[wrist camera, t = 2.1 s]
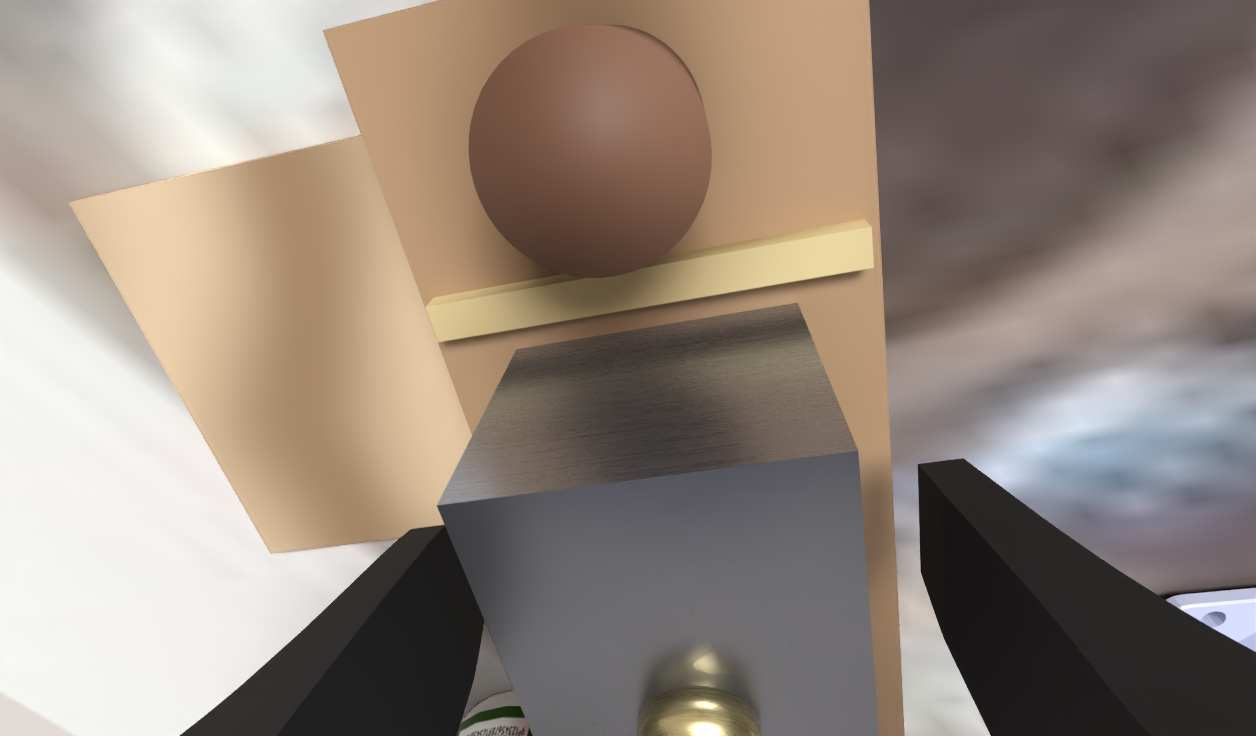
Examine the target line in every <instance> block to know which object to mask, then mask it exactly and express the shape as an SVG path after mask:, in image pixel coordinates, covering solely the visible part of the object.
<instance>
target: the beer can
mask: <svg viewBox="0 0 1256 736" xmlns="http://www.w3.org/2000/svg"><path fill="white" fill-rule="evenodd" d="M457 736H533V735H532V733H531V730H530V728H529V726H528V723H527V721H526V718H525V716H524V714H523V711H522V709H521V706H520V704H519V702H518V699H517V697H516V694H515V692H514V690H512V691H508V692H504V693H500V694H495V695H492V696H491V697H489V698H487V699H485V700H484V701H482V702H480V703H479V704H477V705H475V707H474V708H473V709H472V710H471V711H470V712H469V713H468V714H467V716H466V717H465V718H464V719H463V720H462V721H461V723H460V726H459V729H458V733H457Z"/></svg>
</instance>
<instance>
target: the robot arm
mask: <svg viewBox="0 0 1256 736" xmlns="http://www.w3.org/2000/svg"><path fill="white" fill-rule="evenodd" d="M918 485H919V523H920V561H921V574H922V577H923V580H924V583H925V586H926V589H927V592H928V595H929V597H930V600H931V603H932V606H933V609H934V612H935V615H936V618H937V620H938V623H939V626H940V629H941V632H942V634H943V637H944V639H945V642H946V644H947V646H948V648H949V650H950V652H951V654H952V656H953V658H954V661H955V663H956V665H957V667H958V669H959V671H960V673H961V675H962V677H963V679H964V681H965V683H966V685H967V688H968V690H969V692H970V694H971V696H972V698H973V700H974V702H975V704H976V706H977V708H978V710H979V712H980V714H981V716H982V718H983V720H984V722H985V724H986V727H987V729H988V731H989V733H990V735H991V736H1256V588H1247V589H1236V590H1225V591H1214V592H1203V593H1192V594H1181V595H1176V596H1172V597H1170V598H1168V599H1166V600H1165V599H1163V598H1161V597H1160V596H1158V595H1157V594H1155V593H1154V592H1152V591H1150V590H1149V589H1147V588H1146V587H1144V586H1142V585H1141V584H1139V583H1138V582H1136V581H1134V580H1133V579H1131V578H1130V577H1128V576H1126V575H1125V574H1123V573H1122V572H1120V571H1119V570H1117V569H1116V568H1114V567H1113V566H1111V565H1110V564H1108V563H1107V562H1105V561H1104V560H1102V559H1101V558H1099V557H1098V556H1096V555H1095V554H1093V553H1092V552H1091V551H1089V550H1088V549H1086V548H1085V547H1083V546H1082V545H1080V544H1079V543H1078V542H1076V541H1075V540H1073V539H1072V538H1070V537H1069V536H1068V535H1066V534H1065V533H1063V532H1062V531H1060V530H1059V529H1058V528H1056V527H1055V526H1053V525H1052V524H1051V523H1049V522H1048V521H1046V520H1045V519H1044V518H1042V517H1041V516H1040V515H1038V514H1037V513H1036V512H1034V511H1033V510H1032V509H1030V508H1029V507H1027V506H1026V505H1025V504H1023V503H1022V502H1021V501H1019V500H1018V499H1017V498H1015V497H1014V496H1013V495H1011V494H1010V493H1009V492H1007V491H1006V490H1005V489H1003V488H1002V487H1001V486H999V485H998V484H997V483H995V482H994V481H993V480H991V479H990V478H989V477H987V476H986V475H985V474H983V473H982V472H981V471H979V470H978V469H977V468H975V467H974V466H973V465H971V464H970V463H969V462H967V461H966V460H965V459H963V458H962V459H955V460H947V461H939V462H931V463H923V464H918ZM483 625H484V618H483V615H482V613H481V611H480V608H479V606H478V603H477V601H476V599H475V596H474V594H473V591H472V589H471V587H470V584H469V582H468V580H467V577H466V575H465V572H464V570H463V568H462V565H461V563H460V560H459V558H458V556H457V553H456V551H455V548H454V546H453V544H452V541H451V539H450V536H449V534H448V532H447V529H446V527H445V525H438V526H430V527H422V528H415V529H410V530H409V531H408V532H407V533H405V534H404V535H403V536H402V537H401V538H399V539H398V540H397V541H396V542H395V543H394V544H393V545H392V546H391V547H390V548H388V549H387V550H386V551H385V552H384V553H383V554H382V555H381V556H380V557H379V558H378V559H377V560H376V561H375V562H374V563H373V564H372V565H371V566H370V567H368V568H367V569H366V570H365V571H364V572H363V573H362V574H361V575H360V576H359V577H358V578H357V579H356V580H355V581H354V582H353V583H352V584H351V585H350V586H349V587H348V588H347V589H346V590H345V591H344V592H343V593H342V594H340V595H339V596H338V597H337V598H336V599H335V600H334V601H333V602H332V603H331V604H330V605H329V606H328V607H327V608H326V609H325V610H324V611H323V612H322V613H321V614H320V615H319V616H317V617H316V618H315V619H314V620H313V621H312V622H311V623H310V624H309V625H308V626H307V627H306V628H305V629H304V630H303V631H302V632H301V633H299V634H298V635H297V636H296V637H295V638H294V639H293V640H292V641H291V642H289V643H288V644H287V645H286V646H285V647H284V648H283V649H282V650H280V651H279V652H278V653H277V654H276V655H275V656H274V657H273V658H272V659H270V660H269V661H268V662H267V663H266V664H265V665H264V666H263V667H262V668H260V669H259V670H258V671H257V672H256V673H255V674H254V675H253V676H251V677H250V678H249V679H248V680H247V681H246V682H245V683H244V684H243V685H241V686H240V687H239V688H238V689H237V690H235V691H234V692H233V693H232V694H231V695H230V696H228V697H227V698H226V699H225V700H224V701H222V702H221V703H220V704H219V705H218V706H216V707H215V708H214V709H213V710H211V711H210V712H209V713H208V714H207V715H205V716H204V717H203V718H202V719H200V720H199V721H198V722H196V723H195V724H194V725H193V726H191V727H190V728H189V729H188V730H186V731H185V732H184V733H182V734H181V735H180V736H457V733H458V729H459V726H460V723H461V720H462V717H463V713H464V710H465V707H466V704H467V700H468V697H469V694H470V690H471V687H472V684H473V680H474V675H475V670H476V665H477V660H478V655H479V650H480V644H481V637H482V631H483Z"/></svg>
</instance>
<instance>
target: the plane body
mask: <svg viewBox="0 0 1256 736" xmlns="http://www.w3.org/2000/svg"><path fill="white" fill-rule="evenodd" d="M323 32H324V35H325V38H326V40H327V43H328V46H329V49H330V51H331V54H332V57H333V59H334V62H335V65H336V68H337V70H338V73H339V76H340V78H341V81H342V84H343V87H344V89H345V92H346V95H347V97H348V100H349V103H350V106H351V108H352V111H353V114H354V116H355V119H356V122H357V125H358V127H359V130H360V133H361V135H362V138H363V141H364V144H365V146H366V149H367V152H368V154H369V157H370V160H371V163H372V165H373V168H374V171H375V173H376V176H377V179H378V182H379V184H380V187H381V190H382V192H383V195H384V198H385V201H386V203H387V206H388V209H389V211H390V214H391V217H392V220H393V222H394V225H395V228H396V231H397V233H398V236H399V239H400V241H401V244H402V247H403V250H404V252H405V255H406V258H407V260H408V263H409V266H410V269H411V271H412V274H413V277H414V279H415V282H416V285H417V288H418V290H419V293H420V296H421V298H422V301H423V304H424V307H425V309H426V312H427V315H428V317H429V320H430V323H431V326H432V328H433V331H434V334H435V336H436V339H437V342H438V345H439V347H440V350H441V353H442V355H443V358H444V361H445V364H446V366H447V369H448V372H449V374H450V377H451V380H452V383H453V385H454V388H455V391H456V393H457V396H458V399H459V402H460V404H461V407H462V410H463V412H464V415H465V418H466V421H467V423H468V426H469V429H470V431H471V434H472V435H473V433H474V431H475V429H476V427H477V425H478V423H479V422H480V420H481V418H482V416H483V414H484V412H485V410H486V408H487V406H488V404H489V402H490V400H491V398H492V396H493V394H494V392H495V390H496V388H497V386H498V384H499V382H500V380H501V378H502V376H503V374H504V373H505V371H506V369H507V367H508V365H509V363H510V361H511V359H512V357H513V355H514V353H515V351H516V349H521V348H527V347H533V346H539V345H545V344H551V343H557V342H563V341H569V340H575V339H581V338H587V337H593V336H599V335H605V334H611V333H617V332H623V331H629V330H635V329H641V328H647V327H653V326H659V325H665V324H671V323H677V322H683V321H689V320H695V319H702V318H708V317H714V316H720V315H726V314H732V313H738V312H744V311H750V310H756V309H762V308H768V307H774V306H780V305H786V304H792V303H798V305H799V307H800V309H801V312H802V314H803V317H804V319H805V322H806V324H807V327H808V329H809V331H810V334H811V336H812V339H813V341H814V344H815V346H816V348H817V351H818V353H819V356H820V358H821V361H822V363H823V366H824V368H825V370H826V373H827V375H828V378H829V380H830V383H831V385H832V388H833V390H834V392H835V395H836V397H837V400H838V402H839V405H840V407H841V410H842V412H843V414H844V417H845V419H846V422H847V424H848V427H849V429H850V431H851V434H852V436H853V439H854V441H855V444H856V446H857V449H858V453H859V466H860V480H861V493H862V507H863V521H864V534H865V548H866V562H867V575H868V589H869V602H870V616H871V630H872V643H873V657H874V671H875V684H876V698H877V711H878V725H879V736H904V716H903V695H902V674H901V654H900V633H899V612H898V592H897V571H896V550H895V529H894V509H893V488H892V467H891V447H890V426H889V405H888V385H887V364H886V343H885V323H884V302H883V281H882V260H881V240H880V219H879V198H878V178H877V157H876V136H875V116H874V95H873V74H872V54H871V33H870V12H869V0H440V1H436V2H432V3H428V4H424V5H420V6H416V7H412V8H408V9H404V10H401V11H397V12H393V13H389V14H385V15H381V16H377V17H373V18H369V19H365V20H362V21H358V22H354V23H350V24H346V25H342V26H338V27H334V28H330V29H327V30H323Z"/></svg>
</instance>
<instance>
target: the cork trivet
mask: <svg viewBox="0 0 1256 736" xmlns="http://www.w3.org/2000/svg"><path fill="white" fill-rule="evenodd" d="M69 204H70V206H71V208H72V209H73V211H74V213H75V214H76V216H77V218H78V220H79V221H80V223H81V225H82V227H83V228H84V230H85V232H86V234H87V235H88V237H89V239H90V241H91V242H92V244H93V246H94V248H95V249H96V251H97V253H98V255H99V256H100V258H101V260H102V261H103V263H104V265H105V267H106V268H107V270H108V272H109V274H110V275H111V277H112V279H113V281H114V282H115V284H116V286H117V288H118V289H119V291H120V293H121V295H122V296H123V298H124V300H125V301H126V303H127V305H128V307H129V308H130V310H131V312H132V314H133V315H134V317H135V319H136V321H137V322H138V324H139V326H140V328H141V329H142V331H143V333H144V335H145V336H146V338H147V340H148V342H149V343H150V345H151V347H152V348H153V350H154V352H155V354H156V355H157V357H158V359H159V361H160V362H161V364H162V366H163V368H164V369H165V371H166V373H167V375H168V376H169V378H170V380H171V382H172V383H173V385H174V387H175V389H176V390H177V392H178V394H179V395H180V397H181V399H182V401H183V402H184V404H185V406H186V408H187V409H188V411H189V413H190V415H191V416H192V418H193V420H194V422H195V423H196V425H197V427H198V429H199V430H200V432H201V434H202V435H203V437H204V439H205V441H206V442H207V444H208V446H209V448H210V449H211V451H212V453H213V455H214V456H215V458H216V460H217V462H218V463H219V465H220V467H221V469H222V470H223V472H224V474H225V476H226V477H227V479H228V481H229V482H230V484H231V486H232V488H233V489H234V491H235V493H236V495H237V496H238V498H239V500H240V502H241V503H242V505H243V507H244V509H245V510H246V512H247V514H248V516H249V517H250V519H251V521H252V522H253V524H254V526H255V528H256V529H257V531H258V533H259V535H260V536H261V538H262V540H263V542H264V543H265V545H266V547H267V549H268V550H269V552H270V554H272V553H280V552H289V551H297V550H305V549H313V548H321V547H329V546H337V545H345V544H354V543H362V542H370V541H378V540H386V539H394V538H401V537H402V536H403V535H404V534H405V533H407V532H408V531H409V530H410V529H415V528H422V527H430V526H438V525H445V524H444V522H443V520H442V517H441V515H440V513H439V510H438V508H437V504H438V502H439V500H440V498H441V496H442V494H443V492H444V490H445V488H446V486H447V484H448V482H449V480H450V478H451V476H452V474H453V472H454V470H455V469H456V467H457V465H458V463H459V461H460V459H461V457H462V455H463V453H464V451H465V449H466V447H467V445H468V443H469V441H470V439H471V437H472V434H471V431H470V429H469V426H468V423H467V421H466V418H465V415H464V412H463V410H462V407H461V404H460V402H459V399H458V396H457V393H456V391H455V388H454V385H453V383H452V380H451V377H450V374H449V372H448V369H447V366H446V364H445V361H444V358H443V355H442V353H441V350H440V347H439V345H438V342H437V339H436V336H435V334H434V331H433V328H432V326H431V323H430V320H429V317H428V315H427V312H426V309H425V307H424V304H423V301H422V298H421V296H420V293H419V290H418V288H417V285H416V282H415V279H414V277H413V274H412V271H411V269H410V266H409V263H408V260H407V258H406V255H405V252H404V250H403V247H402V244H401V241H400V239H399V236H398V233H397V231H396V228H395V225H394V222H393V220H392V217H391V214H390V211H389V209H388V206H387V203H386V201H385V198H384V195H383V192H382V190H381V187H380V184H379V182H378V179H377V176H376V173H375V171H374V168H373V165H372V163H371V160H370V157H369V154H368V152H367V149H366V146H365V144H364V141H363V138H362V135H360V136H356V137H351V138H347V139H342V140H338V141H334V142H329V143H325V144H320V145H316V146H312V147H307V148H303V149H299V150H294V151H290V152H285V153H281V154H277V155H272V156H268V157H263V158H259V159H255V160H250V161H246V162H241V163H237V164H233V165H228V166H224V167H219V168H215V169H211V170H206V171H202V172H197V173H193V174H189V175H184V176H180V177H175V178H171V179H167V180H162V181H158V182H153V183H149V184H145V185H140V186H136V187H131V188H127V189H123V190H118V191H114V192H109V193H105V194H101V195H96V196H92V197H87V198H83V199H80V200H77V201H73V202H70V203H69Z"/></svg>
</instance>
